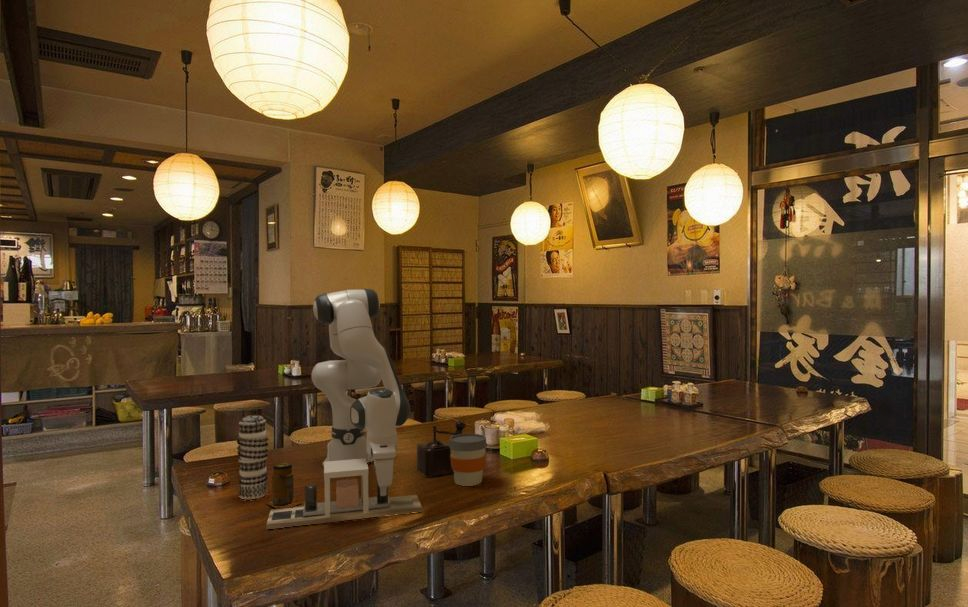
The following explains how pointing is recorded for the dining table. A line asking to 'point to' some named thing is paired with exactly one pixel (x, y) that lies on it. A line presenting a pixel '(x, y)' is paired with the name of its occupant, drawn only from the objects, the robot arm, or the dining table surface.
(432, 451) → the black coffee grinder
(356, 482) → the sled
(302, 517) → the track
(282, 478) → the condiment
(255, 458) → the round tower model
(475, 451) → the reusable coffee cup
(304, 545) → the dining table surface
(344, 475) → the tunnel
